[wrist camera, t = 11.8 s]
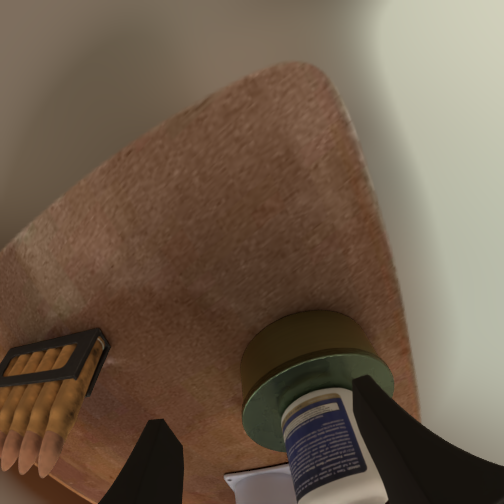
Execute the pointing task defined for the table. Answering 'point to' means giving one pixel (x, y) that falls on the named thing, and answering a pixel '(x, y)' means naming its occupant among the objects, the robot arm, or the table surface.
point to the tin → (302, 368)
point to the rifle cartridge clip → (46, 396)
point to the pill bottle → (329, 451)
